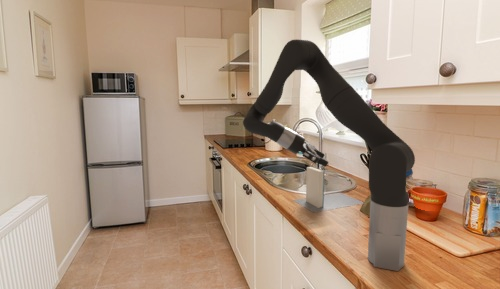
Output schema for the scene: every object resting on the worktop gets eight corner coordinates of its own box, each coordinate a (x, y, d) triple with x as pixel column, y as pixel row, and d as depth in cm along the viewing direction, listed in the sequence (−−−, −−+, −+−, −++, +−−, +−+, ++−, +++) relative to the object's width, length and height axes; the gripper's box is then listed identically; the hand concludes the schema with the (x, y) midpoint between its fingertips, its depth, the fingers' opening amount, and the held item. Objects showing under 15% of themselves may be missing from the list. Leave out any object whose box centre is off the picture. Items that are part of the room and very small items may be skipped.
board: (313, 215, 116) (313, 212, 116) (292, 202, 130) (292, 200, 130) (365, 205, 126) (365, 203, 126) (340, 195, 140) (340, 192, 140)
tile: (318, 207, 121) (319, 171, 118) (306, 201, 129) (306, 167, 127) (323, 206, 122) (324, 171, 119) (310, 200, 130) (311, 166, 128)
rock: (397, 217, 107) (386, 204, 117) (385, 200, 106) (374, 188, 115) (372, 233, 109) (362, 219, 119) (359, 216, 108) (351, 203, 117)
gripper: (296, 137, 109) (333, 159, 110) (294, 127, 122) (327, 147, 124) (285, 154, 111) (322, 175, 113) (284, 142, 125) (317, 161, 126)
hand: (325, 160), depth 118 cm, fingers open, 8 cm apart
